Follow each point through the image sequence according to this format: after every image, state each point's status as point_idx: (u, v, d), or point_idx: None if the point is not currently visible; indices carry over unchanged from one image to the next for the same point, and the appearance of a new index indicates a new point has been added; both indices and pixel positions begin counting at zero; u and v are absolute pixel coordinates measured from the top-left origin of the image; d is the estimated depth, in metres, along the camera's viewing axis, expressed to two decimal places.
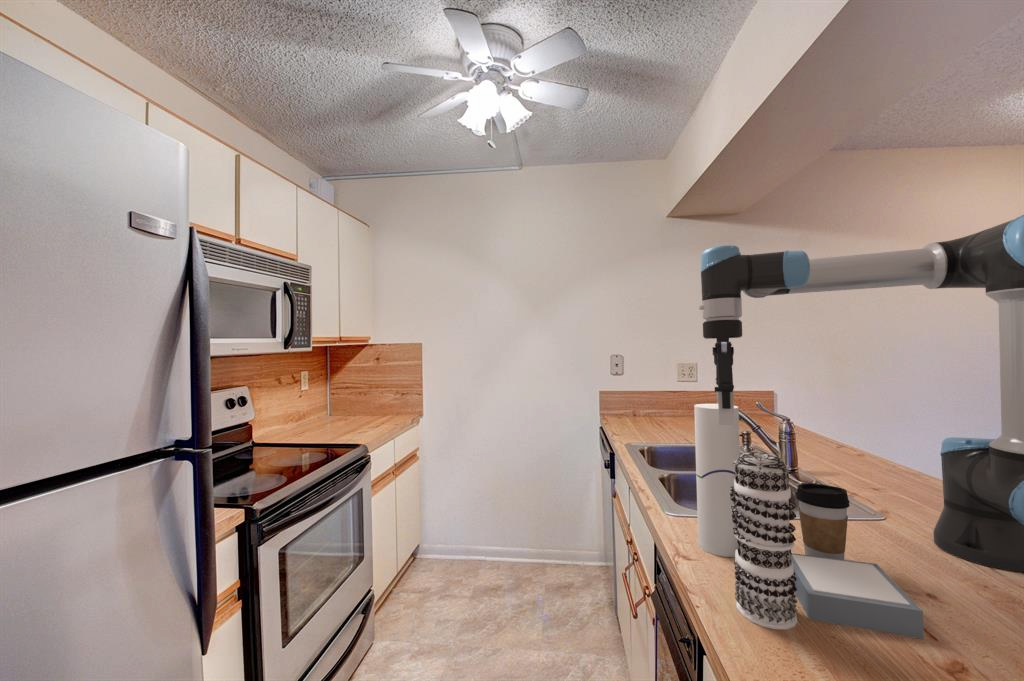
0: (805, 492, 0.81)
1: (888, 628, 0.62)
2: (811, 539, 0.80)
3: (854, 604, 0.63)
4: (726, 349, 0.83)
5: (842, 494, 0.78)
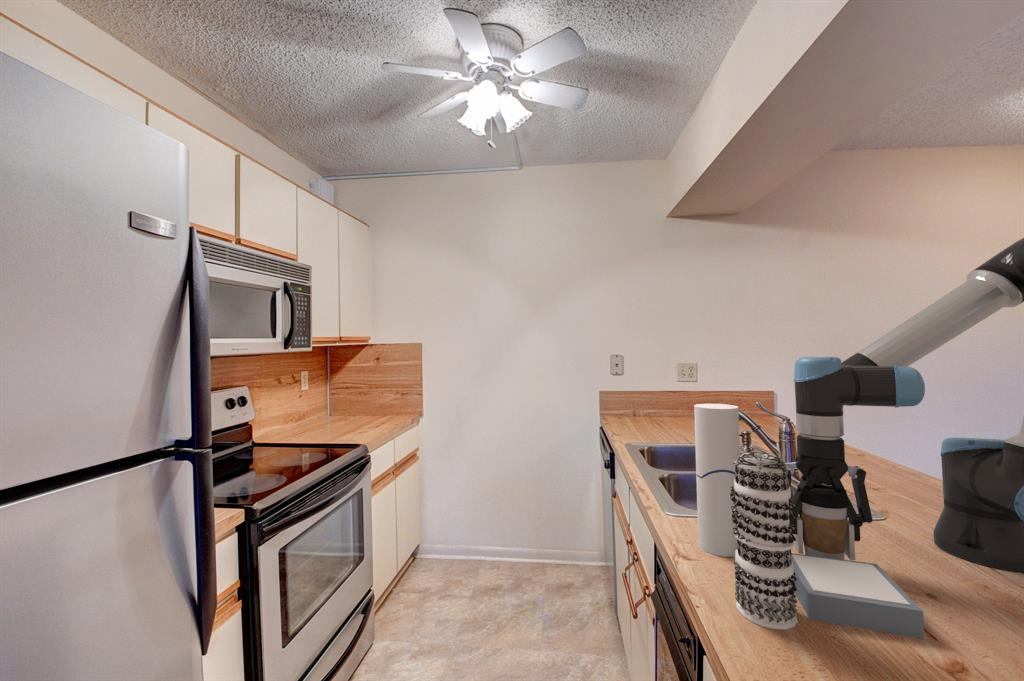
0: (805, 492, 0.81)
1: (888, 628, 0.62)
2: (811, 539, 0.80)
3: (854, 604, 0.63)
4: None
5: (842, 494, 0.78)
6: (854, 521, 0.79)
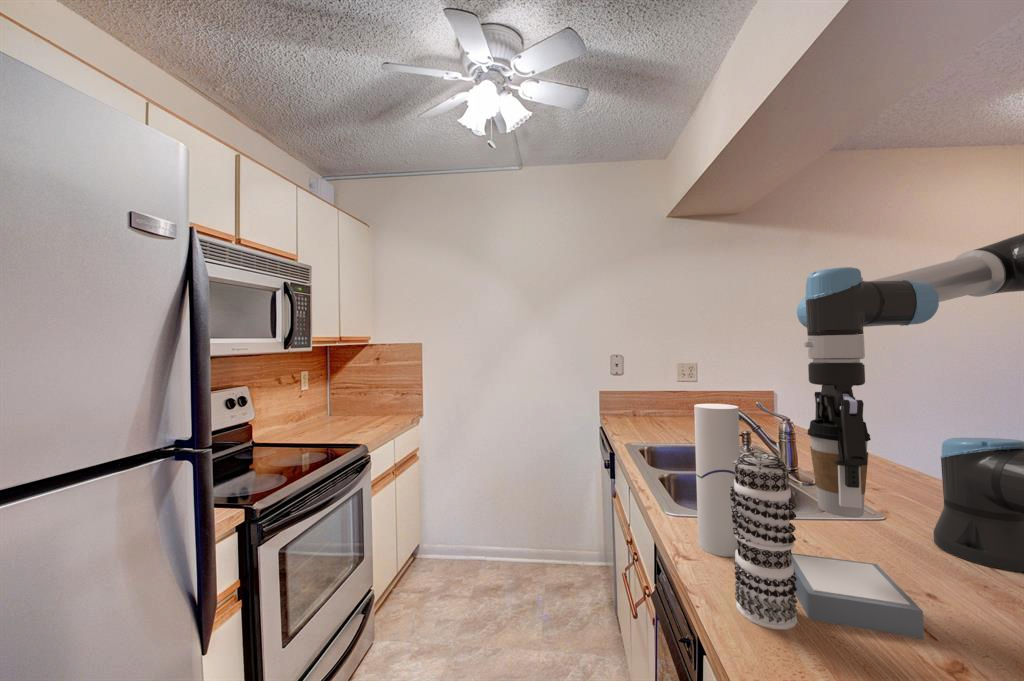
0: None
1: (888, 628, 0.62)
2: (862, 483, 0.67)
3: (854, 604, 0.63)
4: (856, 411, 0.64)
5: None
6: None
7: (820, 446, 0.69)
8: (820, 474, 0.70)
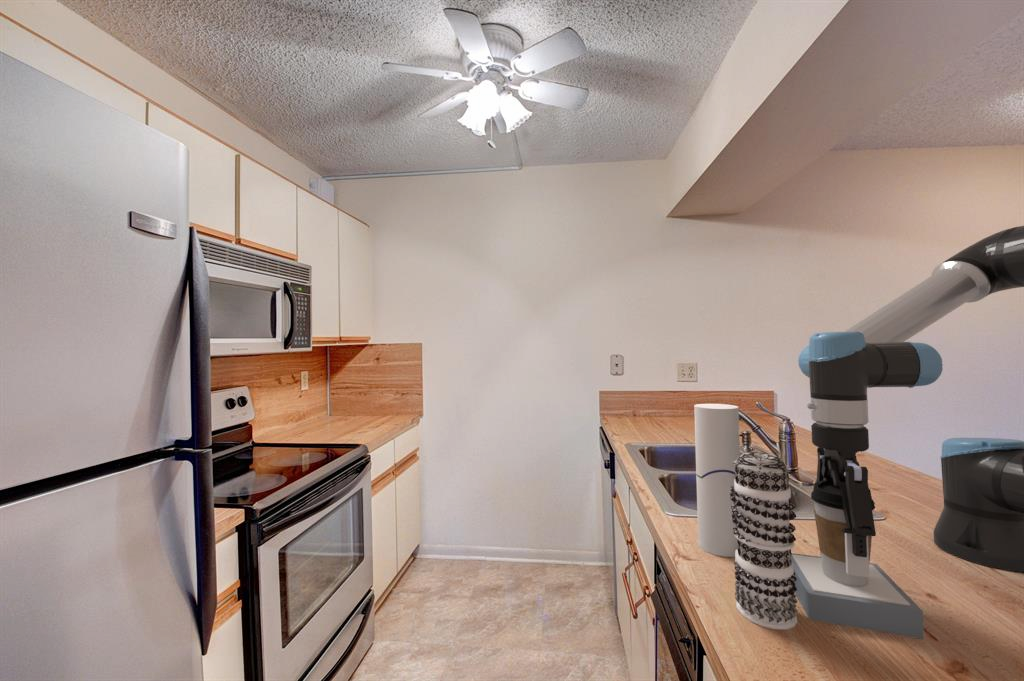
0: None
1: (888, 628, 0.62)
2: None
3: (854, 604, 0.63)
4: (861, 478, 0.63)
5: None
6: None
7: (824, 513, 0.69)
8: (824, 540, 0.69)
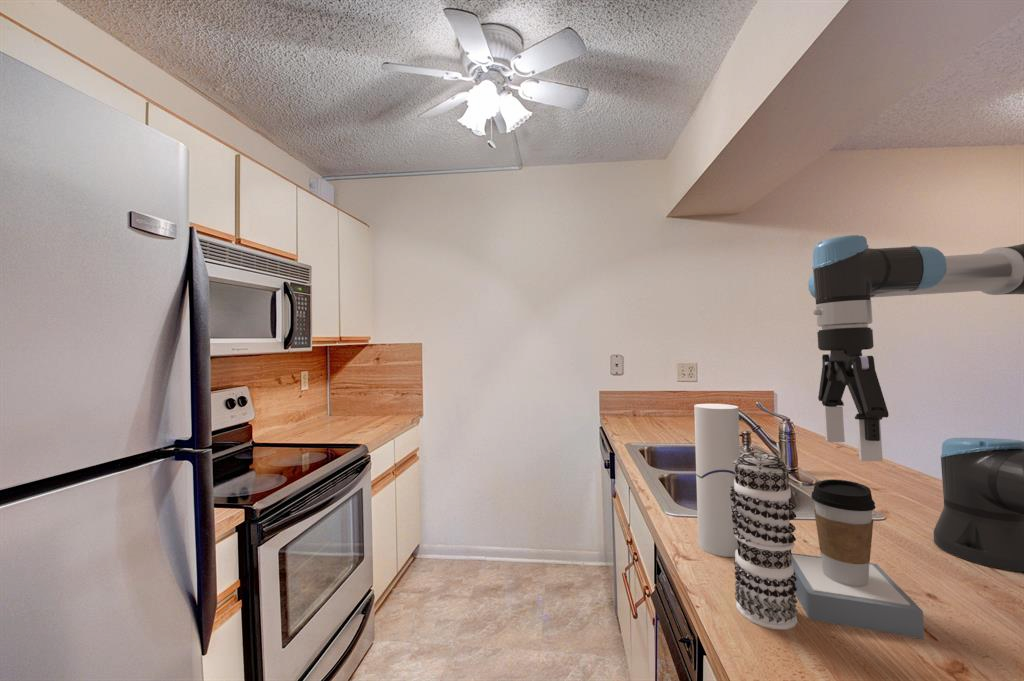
0: (864, 497, 0.66)
1: (888, 628, 0.62)
2: (867, 552, 0.66)
3: (854, 604, 0.63)
4: (868, 365, 0.66)
5: None
6: None
7: (825, 513, 0.69)
8: (824, 540, 0.69)
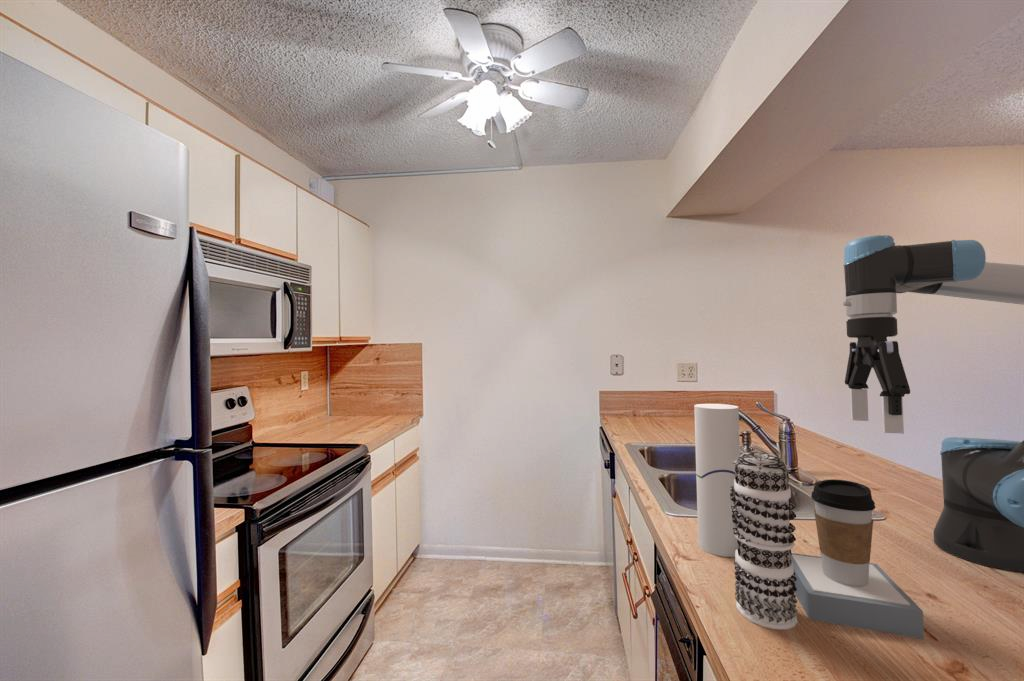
0: (864, 497, 0.66)
1: (888, 628, 0.62)
2: (867, 552, 0.66)
3: (854, 604, 0.63)
4: (893, 349, 0.75)
5: None
6: None
7: (825, 513, 0.69)
8: (824, 540, 0.69)
